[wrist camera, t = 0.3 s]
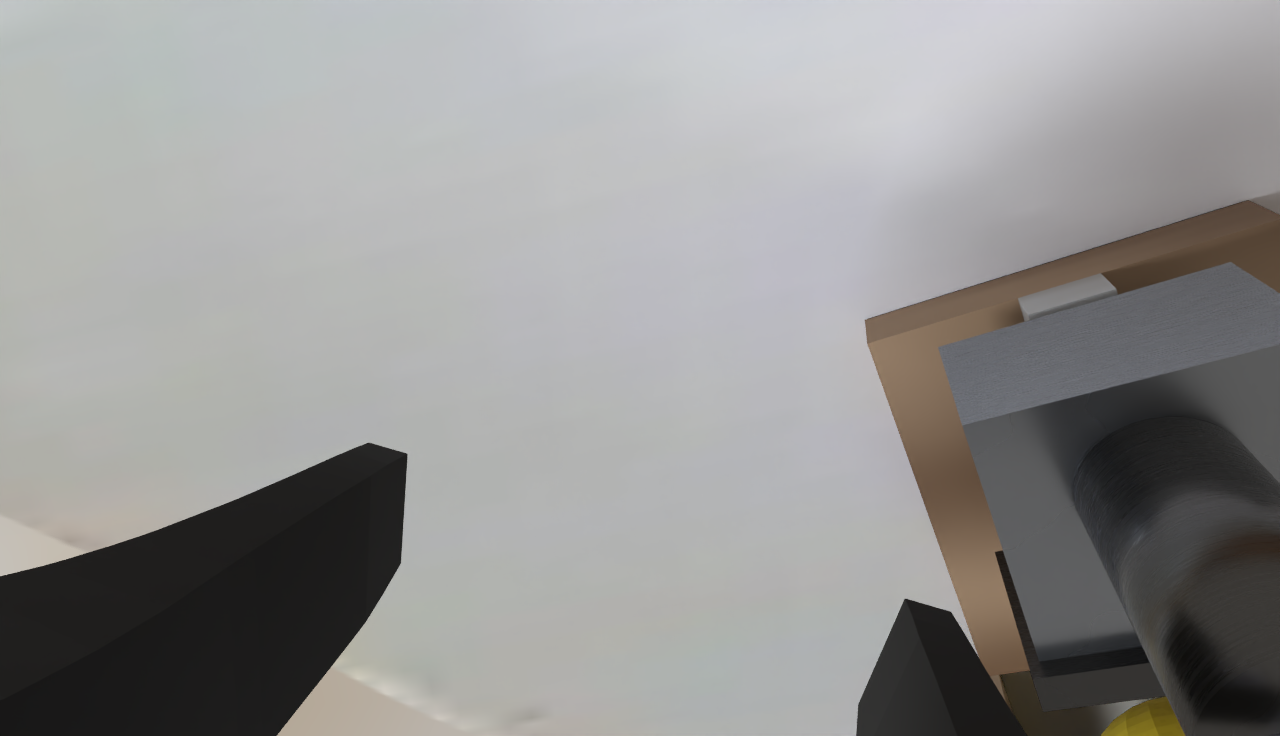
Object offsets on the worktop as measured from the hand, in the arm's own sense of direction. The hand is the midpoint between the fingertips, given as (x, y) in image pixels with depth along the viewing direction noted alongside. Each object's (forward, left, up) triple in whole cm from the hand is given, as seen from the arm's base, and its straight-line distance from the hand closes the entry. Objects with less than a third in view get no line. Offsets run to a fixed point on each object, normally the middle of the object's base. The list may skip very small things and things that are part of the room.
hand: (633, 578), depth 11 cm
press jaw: (-4, -7, -7) cm, 11 cm away
